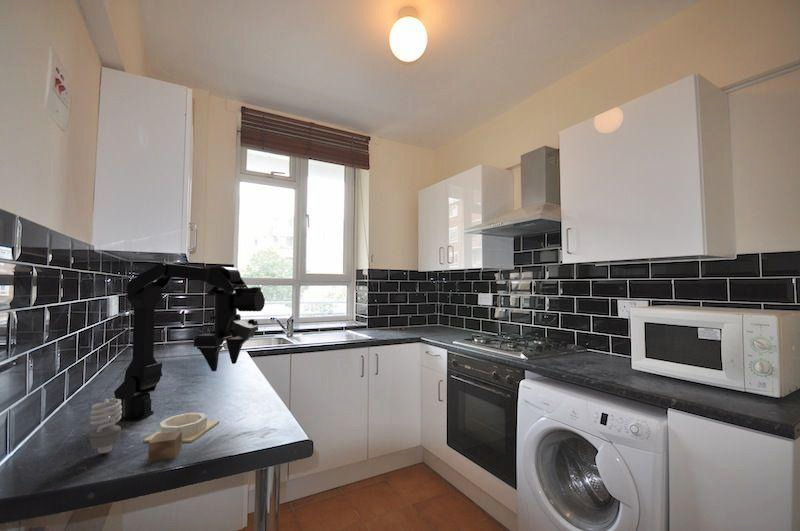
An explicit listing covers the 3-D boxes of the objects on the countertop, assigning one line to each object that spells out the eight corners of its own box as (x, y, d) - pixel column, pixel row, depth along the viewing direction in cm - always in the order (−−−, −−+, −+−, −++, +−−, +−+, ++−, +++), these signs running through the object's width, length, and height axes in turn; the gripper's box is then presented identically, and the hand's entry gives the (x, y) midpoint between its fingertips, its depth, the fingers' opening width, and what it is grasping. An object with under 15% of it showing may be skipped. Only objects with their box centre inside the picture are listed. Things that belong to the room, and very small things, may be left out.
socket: (142, 441, 86) (143, 429, 86) (176, 422, 98) (176, 411, 98) (191, 442, 86) (191, 429, 86) (219, 422, 97) (219, 411, 98)
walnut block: (148, 462, 76) (148, 442, 77) (156, 451, 81) (156, 433, 81) (175, 458, 78) (175, 439, 78) (181, 448, 83) (181, 430, 83)
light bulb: (101, 448, 83) (102, 395, 84) (127, 447, 83) (128, 394, 84) (81, 460, 77) (83, 403, 78) (109, 459, 78) (110, 402, 78)
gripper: (233, 314, 91) (232, 376, 90) (268, 309, 110) (267, 360, 109) (192, 314, 93) (191, 375, 92) (234, 308, 111) (233, 360, 110)
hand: (224, 367), depth 101 cm, fingers open, 9 cm apart
